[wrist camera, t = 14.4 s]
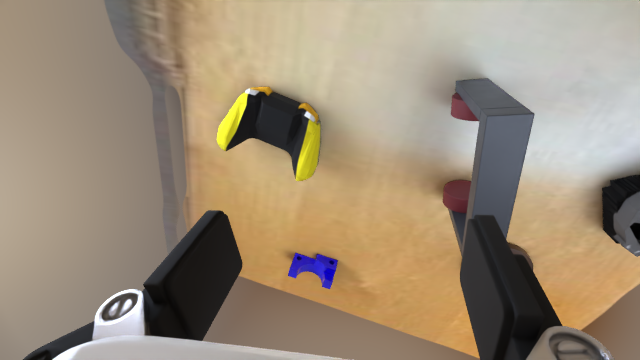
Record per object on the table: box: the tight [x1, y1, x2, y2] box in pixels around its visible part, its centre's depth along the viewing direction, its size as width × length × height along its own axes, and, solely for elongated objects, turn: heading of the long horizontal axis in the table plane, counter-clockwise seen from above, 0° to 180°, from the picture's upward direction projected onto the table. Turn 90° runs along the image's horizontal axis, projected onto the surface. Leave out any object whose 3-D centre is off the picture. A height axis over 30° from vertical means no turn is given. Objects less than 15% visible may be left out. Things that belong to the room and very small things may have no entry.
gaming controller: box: [217, 87, 321, 181], centre depth 43 cm, size 15×6×10 cm
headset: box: [443, 78, 534, 257], centre depth 36 cm, size 5×17×14 cm, turn 7°
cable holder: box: [288, 253, 338, 289], centre depth 56 cm, size 8×4×4 cm, turn 77°
